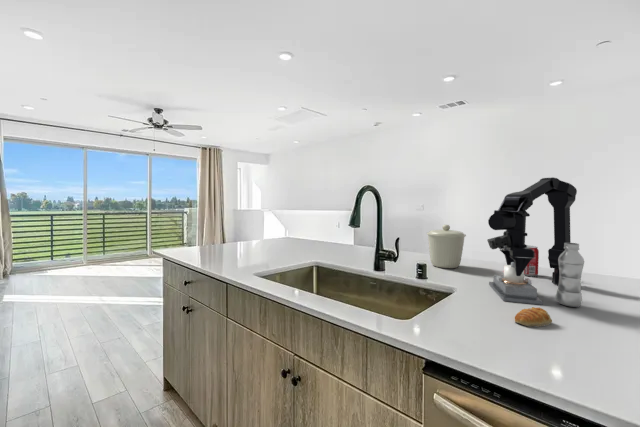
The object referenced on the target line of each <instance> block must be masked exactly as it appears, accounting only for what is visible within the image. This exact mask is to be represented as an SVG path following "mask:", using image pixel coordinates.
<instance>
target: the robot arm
mask: <svg viewBox="0 0 640 427" xmlns="http://www.w3.org/2000/svg"><path fill="white" fill-rule="evenodd" d="M577 192H578V190H577V188H576V187H575V186H574V185H573V184H571V183H570V182H566V181H563V180H560V179H559V178H557V177H553V176H552V177H542V178H540V179H539V180H538V181H537V182H535V183H534V184H531V185H529V186H528V187H527V188H524V189H523V190H521V191H515V192H511V193H508V194H506V195H505V196H504V199H503V200H502V201H501V204H500V205H499V207H498V209H497V210H496V209H495V210H493V214H491V215H490V216H489V218H488V219H487V220H488V222H487V223H488V226H489V227H490V229H492V230H494V231H503V232H502V233H503V235H499V236H495V237H492V238H489V239H487V243H488V245H489V248H490V249H491V250H496V249H499V251H500V252H501V253H502V254H503V255H504V259H505V262H506V263H505V264H506V265H511V262H514V264H515V271H516V276H521V274H522V272H523V271H524V269H525V268H526V266H527V265H528V263H529V262H530V261H531V260H532V258H534V254H535V252H534V251H533V250H532V249H530V248H527V244H526V237H528V233H527V232H526V228H527V227H526V226H527V224H526V222H527V217H530V215H531V214H530V213H529V212H528V211H527V210H528V209H530V207H532V206H533V204H534V201H535V200H536V199H538V198H540V197H542V196H543V195H544V194H545V195H546V196H547V201H548V203H549V205H551V206H552V208H553V234H554V235H553V239H554V244H553V245H552V246H551V248H548V250H547V253H548V256H547V259H548V264H549V268H550V269H553V271H552V276H551V283H552V284H554V285H555V286H557V287H558V285H559V276H560V275H559V263H558V258H559V256H560V255H561V253H563V252H564V251H565V249H564V243H572V242H571V207H572V205H573V204H574V203H575V201H576V196H577ZM504 230H505V231H504Z"/></svg>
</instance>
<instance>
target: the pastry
mask: <svg viewBox="0 0 640 427" xmlns="http://www.w3.org/2000/svg"><path fill="white" fill-rule="evenodd" d="M514 322H515V323H517V324H520V325H522V326H525V327H529V326H530V327H533V326H537V327H538V328H540V327H545V326H544V325H546V326H549V324H550V325H551V324H552V323H553V319H552V318H551V315H550V314H549V313H548V311H547V310H545V309H544V308H541V307H534V306H533V307H531V308H523V309H520V310H519V311H518V312H517V313H516V314H515V316H514ZM537 327H536V328H537Z"/></svg>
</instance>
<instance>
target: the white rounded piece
mask: <svg viewBox="0 0 640 427" xmlns="http://www.w3.org/2000/svg"><path fill="white" fill-rule="evenodd" d="M503 267H504V268H503V276H504V280H505V281H507V282H512V283H524V280H525V276H524V271H523V272H522V274H521V276H516V271H515V264H514V262H511V265H507V264H505V265H503Z"/></svg>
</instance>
